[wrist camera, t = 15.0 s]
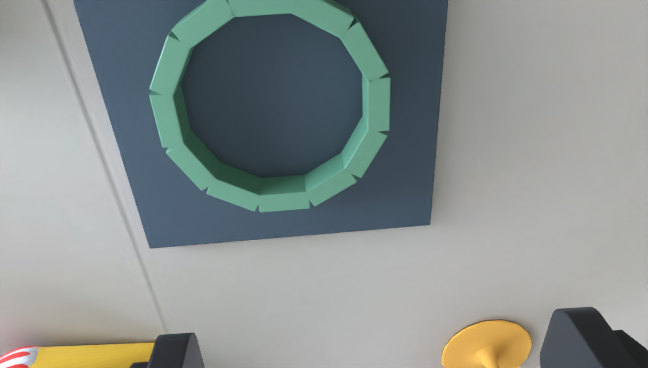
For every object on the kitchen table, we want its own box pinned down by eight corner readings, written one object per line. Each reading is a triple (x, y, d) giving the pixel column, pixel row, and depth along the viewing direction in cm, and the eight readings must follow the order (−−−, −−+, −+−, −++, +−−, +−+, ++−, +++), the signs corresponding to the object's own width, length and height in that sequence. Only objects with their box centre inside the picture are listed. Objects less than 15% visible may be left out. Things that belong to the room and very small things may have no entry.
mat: (56, -76, 26) (48, -76, 25) (451, -100, 26) (456, -100, 26) (152, 240, 37) (149, 248, 36) (427, 217, 38) (430, 225, 37)
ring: (135, -11, 27) (123, -4, 25) (384, -27, 27) (392, -21, 25) (186, 200, 34) (180, 219, 32) (381, 184, 35) (387, 202, 33)
